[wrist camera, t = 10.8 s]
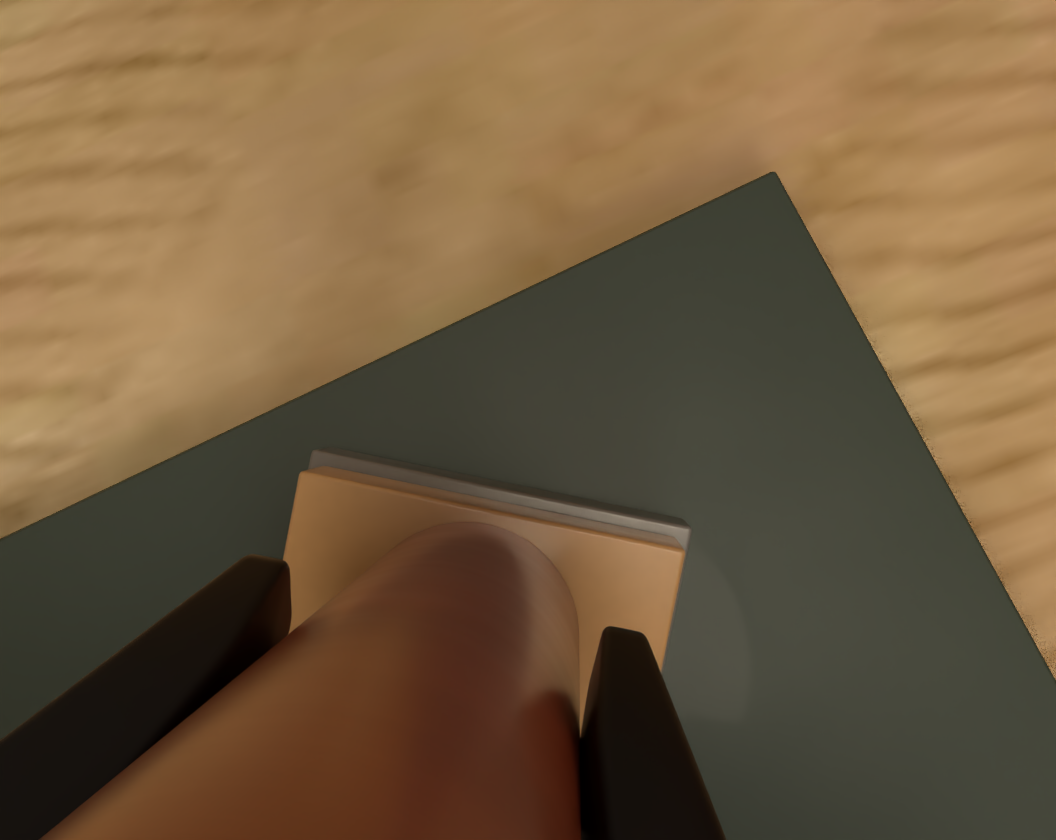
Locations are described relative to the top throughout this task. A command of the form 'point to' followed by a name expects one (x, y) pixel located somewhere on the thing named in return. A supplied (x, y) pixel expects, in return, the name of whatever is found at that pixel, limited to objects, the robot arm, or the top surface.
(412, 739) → the rubber stamp
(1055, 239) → the top surface
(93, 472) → the top surface
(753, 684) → the slate
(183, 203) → the top surface
